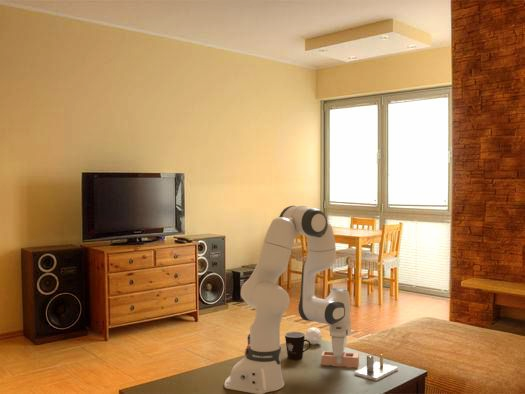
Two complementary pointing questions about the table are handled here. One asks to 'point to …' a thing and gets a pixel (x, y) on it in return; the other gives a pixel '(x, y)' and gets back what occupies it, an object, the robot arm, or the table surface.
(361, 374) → the post plate
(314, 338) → the geometric ball
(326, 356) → the link
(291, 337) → the coffee mug
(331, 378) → the table surface
